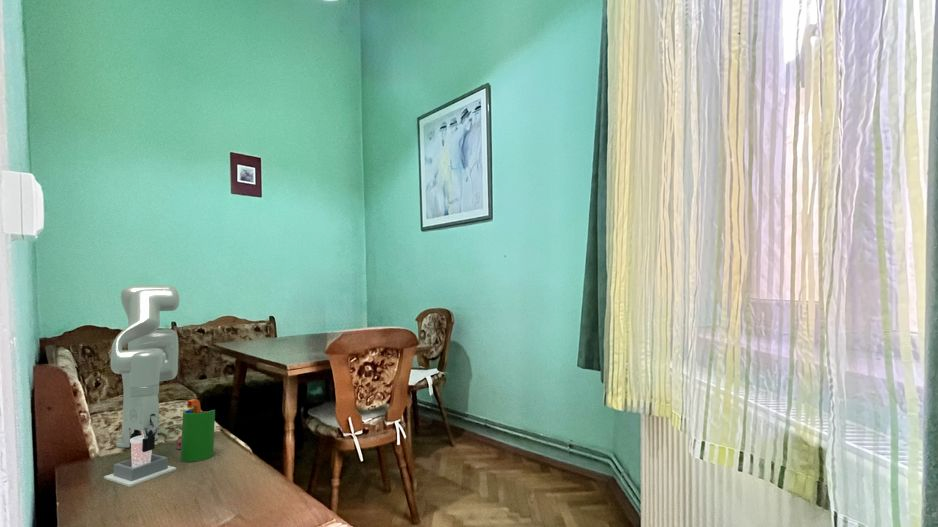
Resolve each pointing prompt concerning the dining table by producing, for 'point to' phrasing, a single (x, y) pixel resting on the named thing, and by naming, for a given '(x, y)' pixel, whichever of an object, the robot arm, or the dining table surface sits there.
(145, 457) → the beverage cup
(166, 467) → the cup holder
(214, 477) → the dining table surface
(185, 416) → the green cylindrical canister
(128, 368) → the robot arm
